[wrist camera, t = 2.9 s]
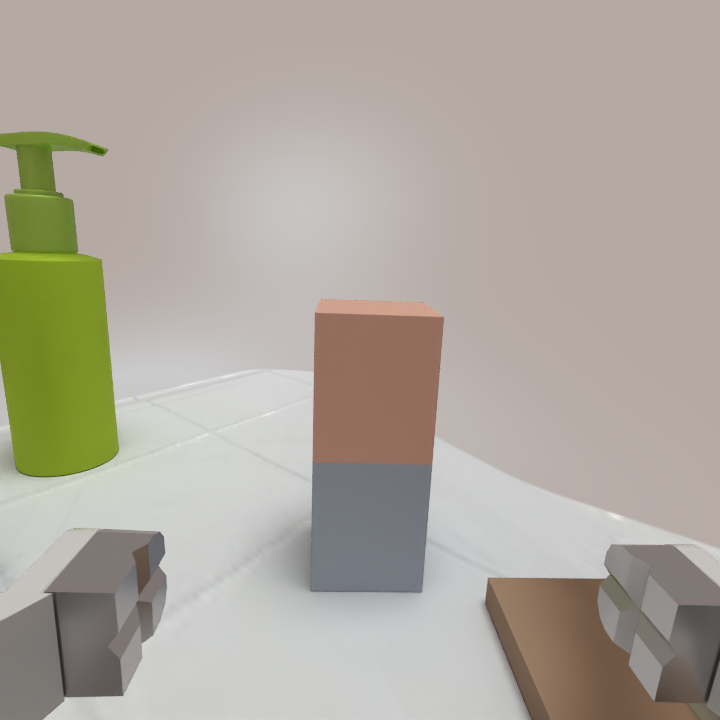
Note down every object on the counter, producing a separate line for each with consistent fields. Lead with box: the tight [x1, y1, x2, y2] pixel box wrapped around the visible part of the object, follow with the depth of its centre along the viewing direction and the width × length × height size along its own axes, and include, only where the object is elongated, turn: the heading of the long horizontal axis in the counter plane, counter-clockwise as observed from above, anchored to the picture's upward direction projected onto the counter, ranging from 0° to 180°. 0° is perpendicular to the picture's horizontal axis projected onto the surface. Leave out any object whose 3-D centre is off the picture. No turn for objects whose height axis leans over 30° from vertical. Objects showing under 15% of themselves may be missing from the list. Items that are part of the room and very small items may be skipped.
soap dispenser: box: [0, 132, 119, 477], centre depth 29 cm, size 6×7×20 cm
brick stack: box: [311, 299, 444, 592], centre depth 21 cm, size 5×5×12 cm
